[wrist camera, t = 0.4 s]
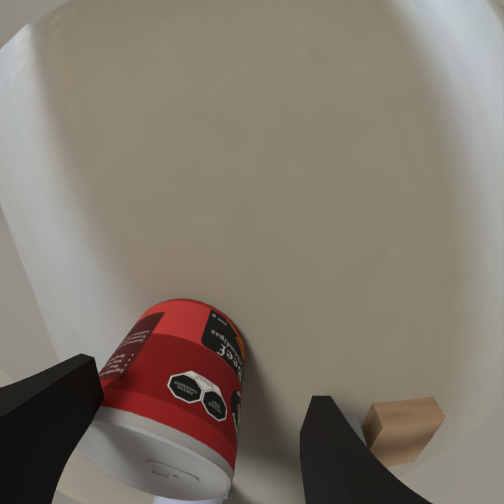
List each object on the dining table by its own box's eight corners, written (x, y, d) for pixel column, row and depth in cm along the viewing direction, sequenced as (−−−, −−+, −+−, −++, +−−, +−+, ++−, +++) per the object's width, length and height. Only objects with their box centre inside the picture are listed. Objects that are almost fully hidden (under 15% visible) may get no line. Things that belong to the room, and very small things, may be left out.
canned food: (245, 383, 20) (234, 508, 10) (149, 373, 20) (98, 478, 10) (247, 297, 18) (230, 441, 7) (133, 290, 18) (40, 393, 8)
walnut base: (404, 440, 22) (413, 461, 18) (348, 446, 22) (354, 471, 18) (431, 395, 20) (445, 417, 17) (371, 400, 20) (382, 427, 17)
